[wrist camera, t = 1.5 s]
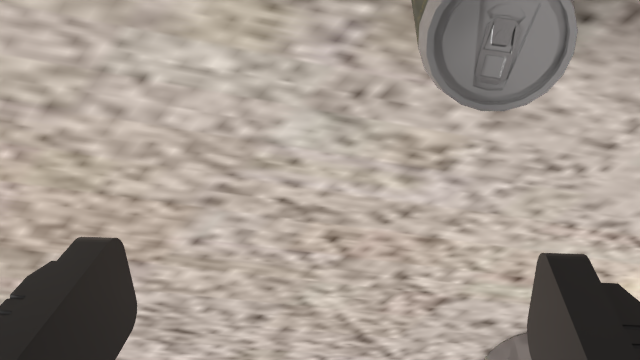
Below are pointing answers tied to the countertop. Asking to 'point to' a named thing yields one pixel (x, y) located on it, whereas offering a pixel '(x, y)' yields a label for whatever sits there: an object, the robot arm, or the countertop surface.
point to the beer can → (495, 48)
